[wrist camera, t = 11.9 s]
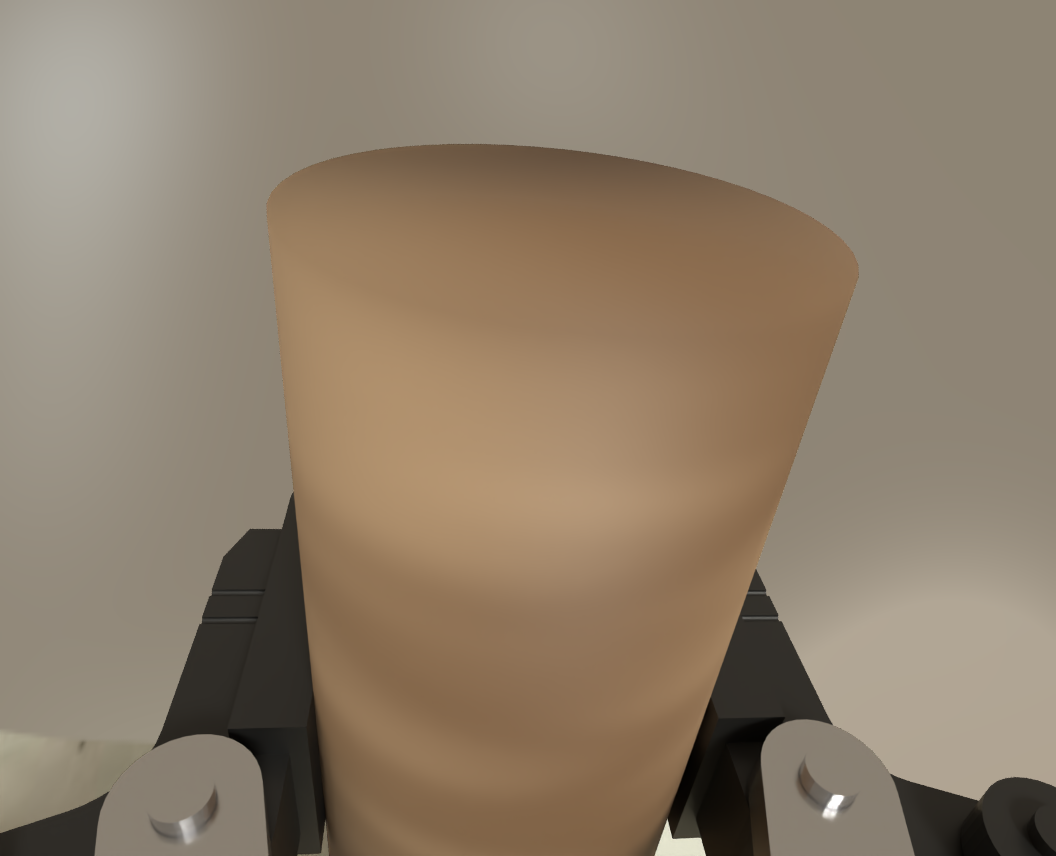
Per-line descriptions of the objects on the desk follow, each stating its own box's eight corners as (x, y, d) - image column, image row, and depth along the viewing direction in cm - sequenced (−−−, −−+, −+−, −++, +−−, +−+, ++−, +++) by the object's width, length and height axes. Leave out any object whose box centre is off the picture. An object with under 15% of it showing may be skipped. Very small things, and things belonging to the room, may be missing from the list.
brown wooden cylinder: (334, 1194, 11) (185, 316, 3) (360, 899, 14) (314, 129, 7) (600, 1165, 11) (996, 352, 4) (565, 887, 15) (738, 162, 7)
